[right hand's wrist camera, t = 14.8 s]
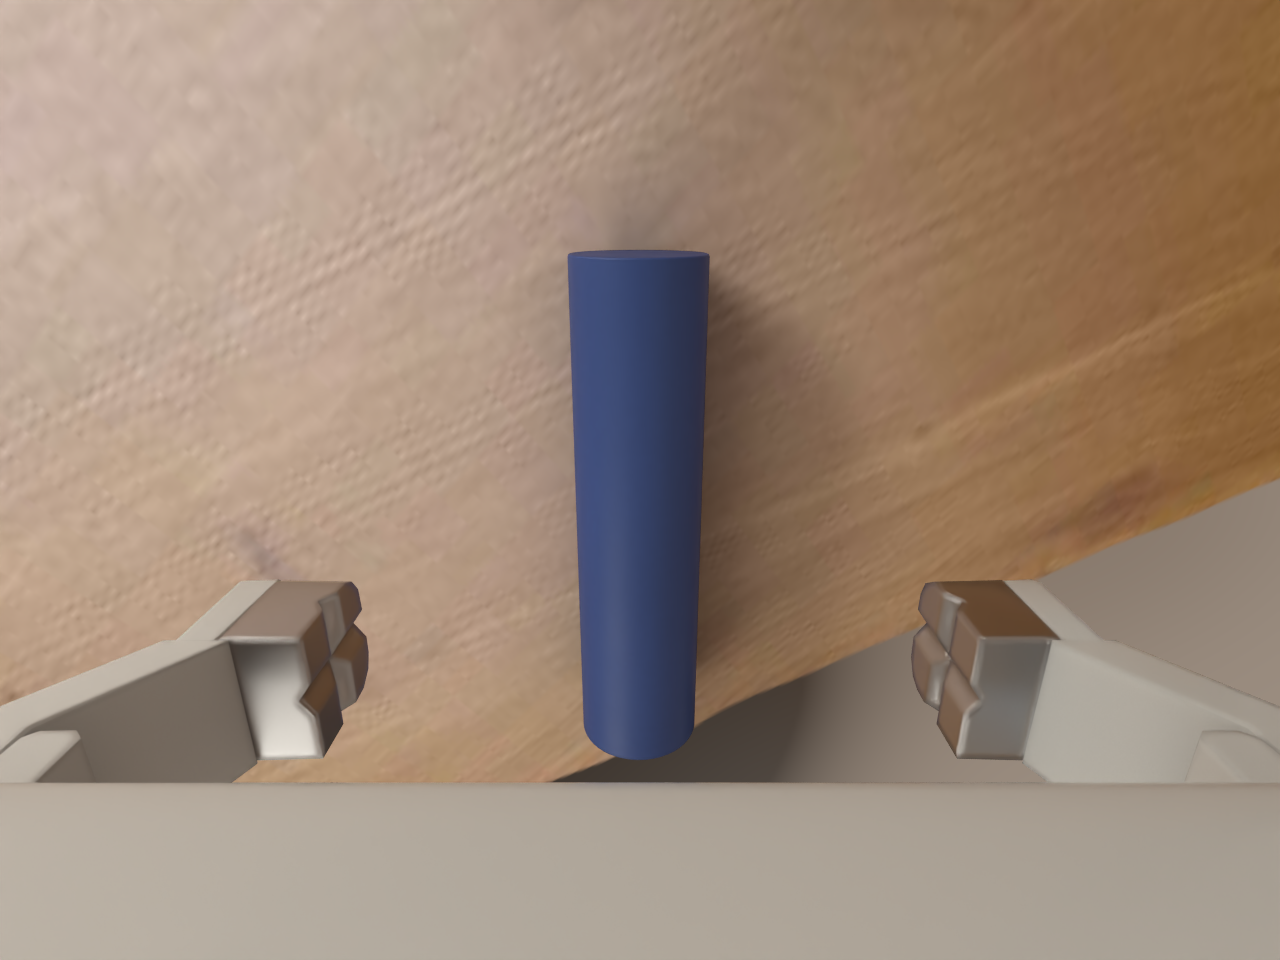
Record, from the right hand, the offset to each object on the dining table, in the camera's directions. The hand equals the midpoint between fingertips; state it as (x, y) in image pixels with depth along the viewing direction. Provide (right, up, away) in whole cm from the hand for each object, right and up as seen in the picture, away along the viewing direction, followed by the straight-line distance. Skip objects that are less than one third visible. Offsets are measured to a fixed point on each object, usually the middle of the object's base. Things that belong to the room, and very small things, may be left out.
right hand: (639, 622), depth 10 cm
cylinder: (0, +1, +27) cm, 27 cm away
